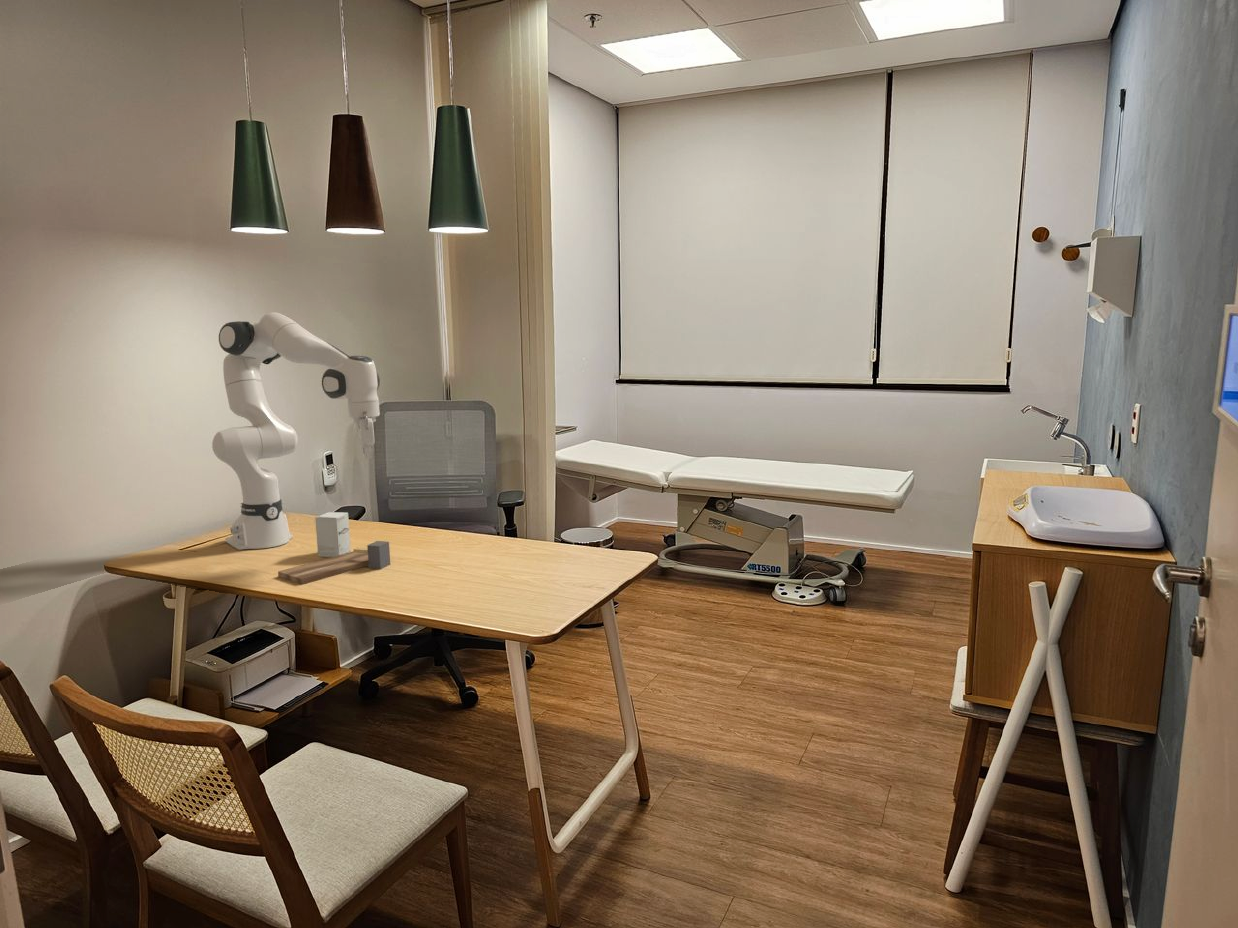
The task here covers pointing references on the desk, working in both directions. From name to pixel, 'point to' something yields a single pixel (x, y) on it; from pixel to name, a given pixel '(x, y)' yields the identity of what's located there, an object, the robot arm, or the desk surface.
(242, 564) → the desk surface
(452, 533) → the desk surface
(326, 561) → the plank
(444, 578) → the desk surface
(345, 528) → the supplement box
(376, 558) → the gray-headed mallet
